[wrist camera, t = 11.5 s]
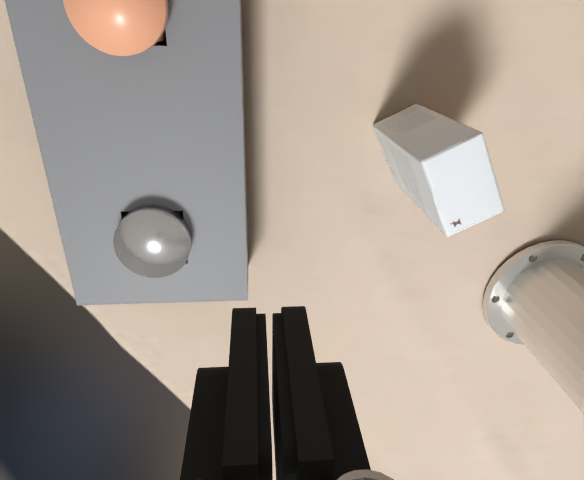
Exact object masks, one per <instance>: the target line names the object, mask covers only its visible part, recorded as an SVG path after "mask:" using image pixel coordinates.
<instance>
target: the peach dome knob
mask: <svg viewBox="0 0 584 480" xmlns="http://www.w3.org/2000/svg"><path fill="white" fill-rule="evenodd" d="M63 4H64V8H65V11H66V13H67V16H68V18H69V20H70V22H71V24H72V25H73V27H74V29H75V30H76V31H77V32H78V34H79V35H80V36H81V37H82V38H83V39H84V40H85V41H86V42H87V43H89V44H90V45H91V46H93V47H94V48H96V49H98V50H100V51H102V52H104V53H107V54H110V55H115V56H130V55H135V54H139V53H141V52H144V51H146V50H148V49H150V48H151V47H152V46H154V45H155V44H156V43H157V42H158V41H163V40H166V30H165V28H166V25H167V21H168V13H169V9H168V0H63Z"/></svg>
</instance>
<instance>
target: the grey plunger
mask: <svg viewBox="0 0 584 480" xmlns="http://www.w3.org/2000/svg"><path fill="white" fill-rule="evenodd" d="M113 245H114V250H115V253H116V255H117V257H118V259H119V260H120V261H121V263H122V264H123V265H124V266H125V267H126V268H128V269H129V270H131V271H132V272H134V273H136V274H138V275H141V276H144V277H150V278H161V277H166V276H169V275H172V274H174V273H176V272H177V271H179V270H180V269H181V268H182V267H183V266H184V265H185V263H186V262H187V259H188V257H189V254H190V250H191V246H192V236H191V232H190V229H189V227H188V225H187V223H186V222H185V221H184V217H183V211H172V210H170V209H168V208H165V207H162V206H156V205H146V206H141V207H138V208H135V209H133V210H132V211H127V213H126V214H125V216H124V218H123V219H122V220H121V222H120V223H119V225H118V227H117V228H116V230H115V233H114V237H113Z"/></svg>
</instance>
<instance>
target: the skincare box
mask: <svg viewBox="0 0 584 480" xmlns="http://www.w3.org/2000/svg"><path fill="white" fill-rule="evenodd" d="M373 127H374V130H375V132H376V135H377V138H378V140H379V143H380V145H381V148H382V151H383V153H384V156H385V158H386V161H387V163H388V166H389V169H390V171H391V174H392V176H393V179H394V181H395V183H396V184H397V185H398V186H399V187H400V188H401V189H402V191H403V192H404V193H405V194H406V195H407V196H408V197H409V198H410V199H411V200H412V201H413V202H414V203H415V204H416V205H417V206H418V207H419V208H420V209H421V211H422V212H423V213H424V214H425V215H426V216H427V217H428V218H429V219H430V220H431V221H432V222H433V223H434V225H435V226H436V227H437V228H438V229H439V230H440V231H441V232H442V233H443V234H444V235H445V236H446V237H450V236H452V235H454V234H456V233H458V232H460V231H462V230H464V229H466V228H469V227H471V226H473V225H475V224H477V223H480V222H482V221H484V220H486V219H489V218H491V217H493V216H495V215H497V214H499V213H501V212H503V211H504V207H503V203H502V199H501V196H500V192H499V189H498V185H497V181H496V178H495V175H494V171H493V168H492V165H491V161H490V158H489V154H488V151H487V147H486V144H485V140H484V136H483V133H482V132H480V131H478V130H476V129H473V128H471V127H469V126H466V125H464V124H462V123H460V122H457V121H455V120H453V119H450V118H448V117H446V116H444V115H442V114H439V113H437V112H435V111H432V110H430V109H428V108H426V107H423V106H421V105H419V104H414V105H412V106H410V107H408V108H406V109H404V110H402V111H400V112H398V113H396V114H394V115H392V116H389V117H387V118H385V119H383V120H381V121H379V122H377V123H375V124H374V125H373Z"/></svg>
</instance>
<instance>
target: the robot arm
mask: <svg viewBox="0 0 584 480" xmlns="http://www.w3.org/2000/svg"><path fill="white" fill-rule="evenodd" d="M483 312H484V316H485V319H486V321H487V323H488V324H489V326H490V327H491V328H492V330H493V331H494V332H495V333H496V334H497V335H498V336H499V337H501V338H503V339H504V340H506V341H509V342H512V343H516V344H524V345H525V346H526V347H527V348H528V349H529V350H530V351H531V353H532V354H533V355H534V356H535V357H536V358H537V360H538V361H539V362H540V363H541V364H542V366H543V367H544V368H545V369H546V370H547V371H548V373H549V374H550V375H551V376H552V377H553V378H554V380H555V381H556V382H557V383H558V384H559V385H560V387H561V388H562V389H563V390H564V391H565V392H566V394H567V395H568V396H569V397H570V398H571V400H572V401H573V402H574V403H575V404H576V405H577V407H578V408H579V409H580V410H581V411H582V412H583V414H584V246H582V245H580V244H577V243H575V242H570V241H565V240H552V241H547V242H542V243H538V244H535V245H533V246H530V247H528V248H526V249H524V250H522V251H520V252H518V253H517V254H515V255H514V256H512V257H511V258H510V259H508V260H507V261H506V262H505V263H504V264H503V265H502V266H501V267H500V268H499V269H498V270H497V271H496V273H495V274H494V275H493V277H492V278H491V280H490V282H489V284H488V286H487V288H486V291H485V294H484V298H483ZM272 405H273V426H274V445H275V463H276V480H394V479H392V478H390V477H388V476H386V475H384V474H382V473H381V472H376V471H372V470H371V469H370V465H369V462H368V458H367V454H366V450H365V447H364V443H363V439H362V435H361V432H360V428H359V424H358V420H357V417H356V413H355V409H354V405H353V402H352V398H351V394H350V391H349V387H348V383H347V379H346V376H345V372H344V368H343V366H342V364H341V362H332V363H316V361H315V356H314V351H313V345H312V340H311V335H310V329H309V324H308V319H307V314H306V309H305V306H298V307H282V308H281V313H273V349H272ZM180 480H272V442H271V421H270V400H269V379H268V358H267V337H266V316H265V314H256V308H233V310H232V325H231V340H230V355H229V367H211V368H198V371H197V375H196V381H195V388H194V394H193V400H192V407H191V414H190V420H189V426H188V432H187V439H186V445H185V451H184V458H183V464H182V471H181V477H180Z"/></svg>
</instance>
